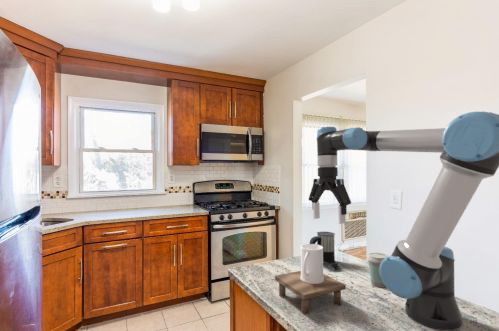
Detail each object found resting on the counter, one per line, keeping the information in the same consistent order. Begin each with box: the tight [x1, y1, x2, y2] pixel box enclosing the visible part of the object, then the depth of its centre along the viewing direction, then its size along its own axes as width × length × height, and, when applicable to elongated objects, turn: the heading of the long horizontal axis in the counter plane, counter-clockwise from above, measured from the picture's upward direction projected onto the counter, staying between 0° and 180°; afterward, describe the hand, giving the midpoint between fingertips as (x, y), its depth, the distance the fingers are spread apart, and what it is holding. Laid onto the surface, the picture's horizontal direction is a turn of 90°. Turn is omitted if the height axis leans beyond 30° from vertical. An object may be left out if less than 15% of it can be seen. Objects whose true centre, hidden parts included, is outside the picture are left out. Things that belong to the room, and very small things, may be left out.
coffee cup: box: [366, 252, 389, 288], centre depth 113 cm, size 8×9×12 cm
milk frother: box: [309, 231, 341, 270], centre depth 137 cm, size 14×16×15 cm
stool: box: [274, 270, 347, 315], centre depth 100 cm, size 18×18×7 cm
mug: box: [300, 243, 324, 284], centre depth 100 cm, size 12×8×12 cm
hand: (328, 220), depth 107 cm, fingers open, 13 cm apart
